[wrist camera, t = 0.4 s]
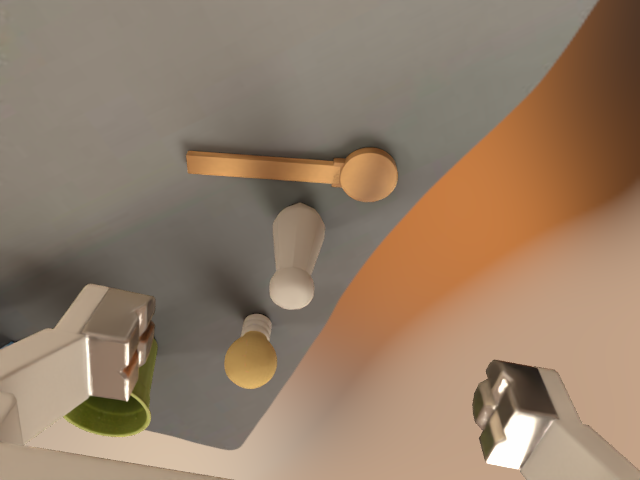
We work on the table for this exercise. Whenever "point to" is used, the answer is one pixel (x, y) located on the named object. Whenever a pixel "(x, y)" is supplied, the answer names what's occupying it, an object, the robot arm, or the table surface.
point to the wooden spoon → (308, 170)
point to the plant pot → (118, 407)
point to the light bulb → (252, 354)
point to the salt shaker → (295, 255)
